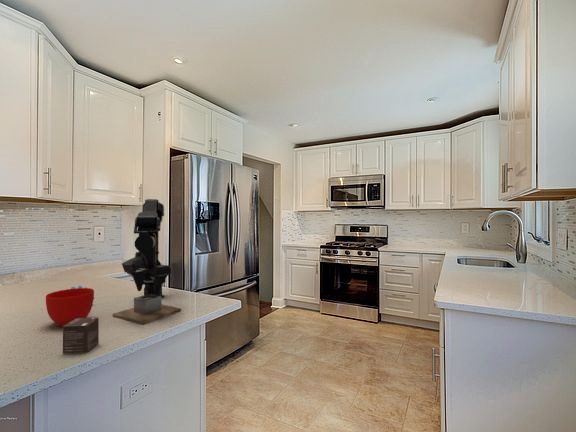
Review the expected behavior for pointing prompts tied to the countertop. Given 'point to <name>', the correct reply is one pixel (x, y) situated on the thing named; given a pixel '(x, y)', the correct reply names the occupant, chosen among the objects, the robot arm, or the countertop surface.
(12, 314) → the countertop surface
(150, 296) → the square tube
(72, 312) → the ceramic cup
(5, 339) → the countertop surface
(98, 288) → the countertop surface
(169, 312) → the post base
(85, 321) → the box
